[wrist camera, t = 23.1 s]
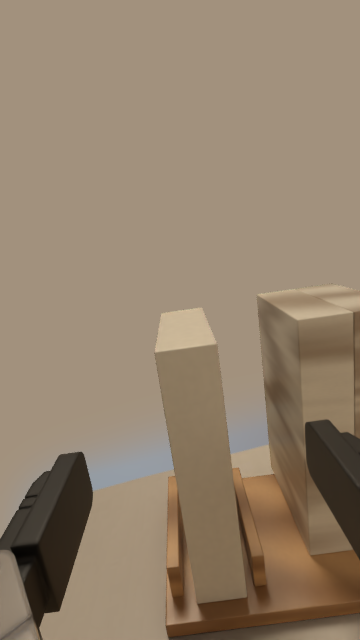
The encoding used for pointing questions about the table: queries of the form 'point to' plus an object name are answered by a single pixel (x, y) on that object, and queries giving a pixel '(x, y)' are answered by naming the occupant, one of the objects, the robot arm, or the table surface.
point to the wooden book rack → (286, 476)
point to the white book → (201, 453)
